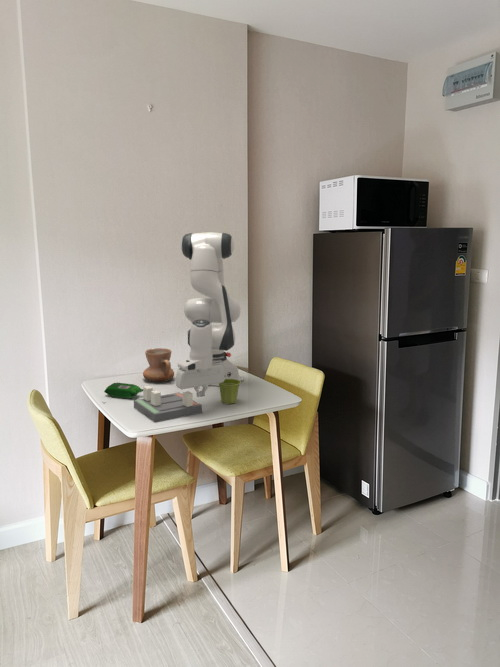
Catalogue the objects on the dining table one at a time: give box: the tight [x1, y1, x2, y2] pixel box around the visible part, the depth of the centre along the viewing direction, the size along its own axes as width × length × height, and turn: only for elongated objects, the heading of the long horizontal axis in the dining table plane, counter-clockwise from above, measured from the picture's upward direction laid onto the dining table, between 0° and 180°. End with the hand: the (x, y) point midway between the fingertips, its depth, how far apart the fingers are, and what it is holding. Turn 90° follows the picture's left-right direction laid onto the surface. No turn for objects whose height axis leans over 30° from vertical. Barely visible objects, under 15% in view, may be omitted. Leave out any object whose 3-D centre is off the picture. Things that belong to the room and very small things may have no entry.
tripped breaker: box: [182, 390, 194, 407], centre depth 204 cm, size 2×4×5 cm
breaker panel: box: [133, 391, 203, 423], centre depth 207 cm, size 20×19×3 cm
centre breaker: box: [151, 389, 162, 406], centre depth 204 cm, size 2×4×5 cm
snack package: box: [103, 382, 143, 400], centre depth 223 cm, size 7×16×5 cm, turn 71°
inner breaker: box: [142, 385, 154, 401], centre depth 209 cm, size 2×4×5 cm
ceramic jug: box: [142, 347, 175, 383], centre depth 246 cm, size 18×14×14 cm
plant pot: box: [218, 379, 242, 405], centre depth 218 cm, size 9×9×9 cm
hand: (200, 396), depth 207 cm, fingers closed
